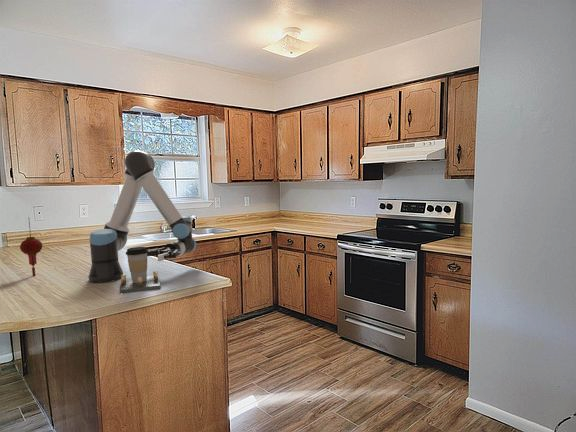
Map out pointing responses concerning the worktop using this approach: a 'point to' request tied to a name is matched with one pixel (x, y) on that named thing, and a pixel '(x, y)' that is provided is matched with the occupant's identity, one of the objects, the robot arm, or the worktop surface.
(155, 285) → the pin plate
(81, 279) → the worktop surface
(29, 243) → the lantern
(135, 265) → the coffee cup
